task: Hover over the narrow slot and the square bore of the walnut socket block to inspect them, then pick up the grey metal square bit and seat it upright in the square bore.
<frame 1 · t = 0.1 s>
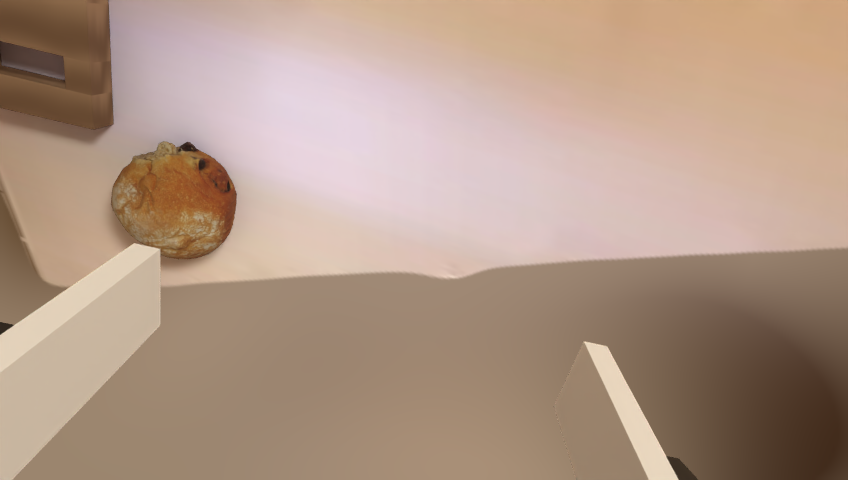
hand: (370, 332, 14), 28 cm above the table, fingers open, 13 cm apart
bread roll: (189, 192, 43), on the table
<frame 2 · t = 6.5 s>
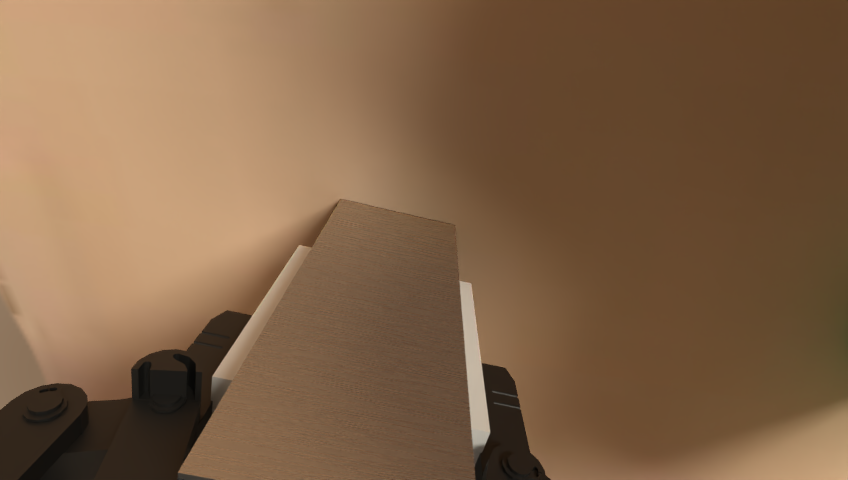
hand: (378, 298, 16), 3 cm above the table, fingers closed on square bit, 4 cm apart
square bit: (386, 262, 19), on the table, touching gripper
when the fingers open (4 cm above the table, at t = 11.2 s): square bit drops 2 cm, resting in socket block.
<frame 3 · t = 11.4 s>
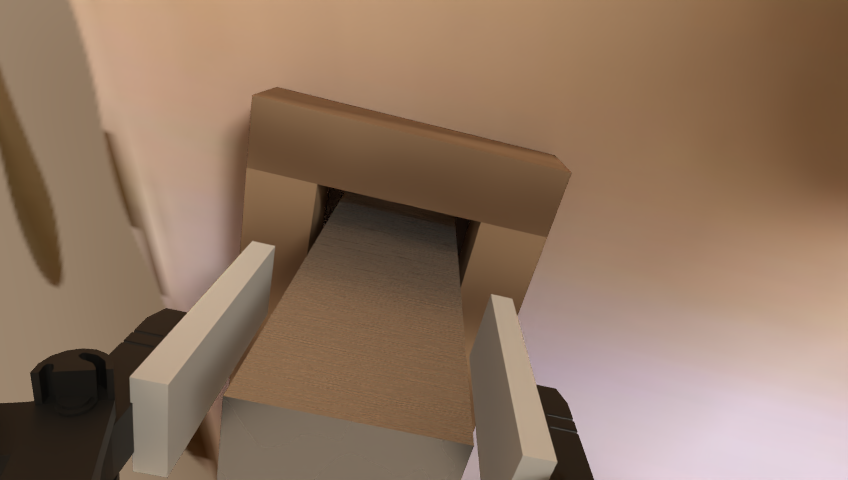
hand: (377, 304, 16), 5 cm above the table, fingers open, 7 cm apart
square bit: (390, 247, 20), resting in socket block
socket block: (374, 313, 21), on the table
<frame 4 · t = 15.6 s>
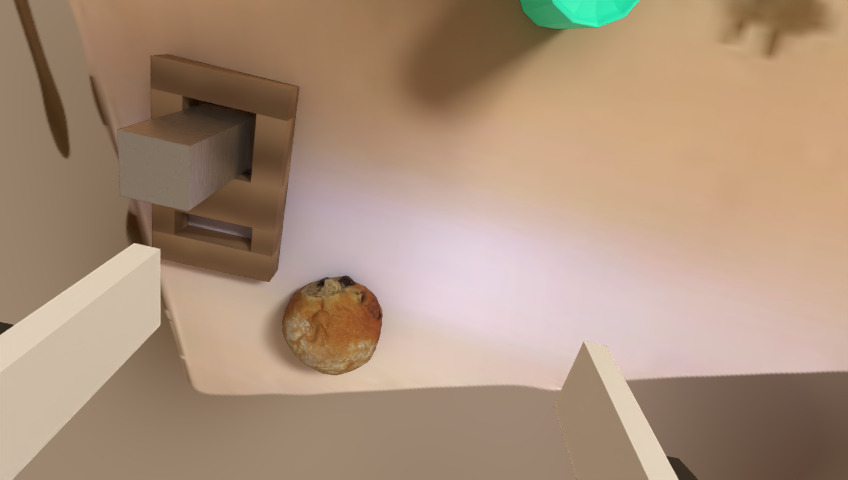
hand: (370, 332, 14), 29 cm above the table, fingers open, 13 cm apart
square bit: (230, 134, 41), resting in socket block
bread roll: (338, 312, 49), on the table
socket block: (227, 172, 42), on the table
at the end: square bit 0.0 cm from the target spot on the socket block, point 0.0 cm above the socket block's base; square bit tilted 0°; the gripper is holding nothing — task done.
